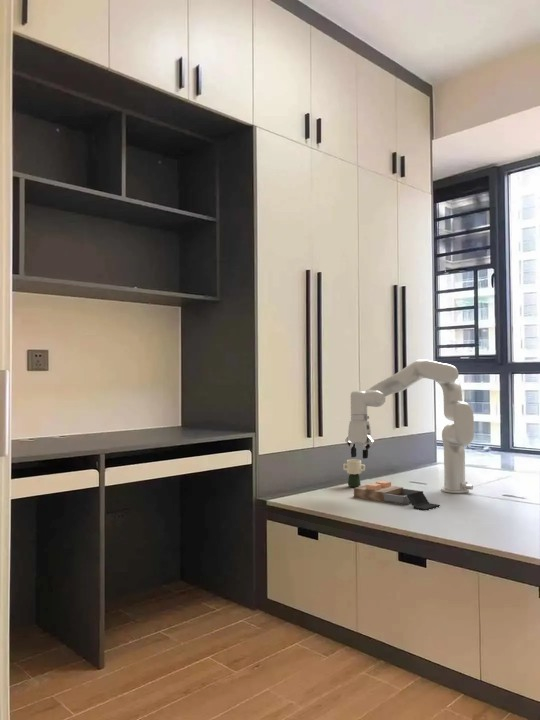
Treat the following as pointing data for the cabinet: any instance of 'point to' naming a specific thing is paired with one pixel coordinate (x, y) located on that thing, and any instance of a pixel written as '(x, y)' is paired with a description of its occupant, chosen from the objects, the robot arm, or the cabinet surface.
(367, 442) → the robot arm
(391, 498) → the box
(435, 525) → the cabinet surface
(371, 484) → the tile
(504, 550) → the cabinet surface
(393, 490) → the board
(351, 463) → the character mug
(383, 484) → the tile
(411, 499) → the black sloped piece
